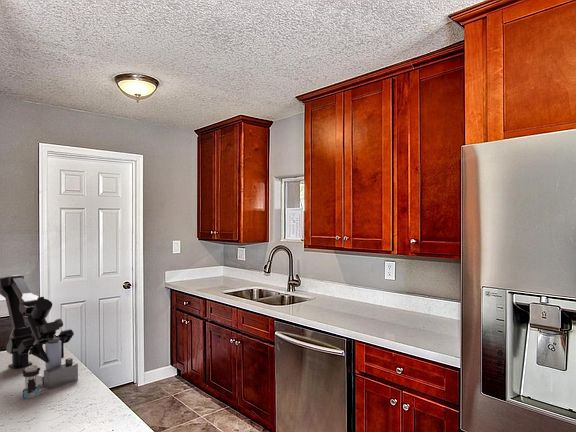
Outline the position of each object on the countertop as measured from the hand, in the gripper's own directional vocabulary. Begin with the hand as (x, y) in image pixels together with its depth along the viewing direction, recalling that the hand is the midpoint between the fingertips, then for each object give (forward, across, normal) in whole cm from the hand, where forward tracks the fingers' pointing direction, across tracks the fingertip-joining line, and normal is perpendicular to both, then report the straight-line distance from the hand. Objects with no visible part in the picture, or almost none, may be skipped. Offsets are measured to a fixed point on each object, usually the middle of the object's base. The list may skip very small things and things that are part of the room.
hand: (55, 360), depth 157 cm
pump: (+4, 0, +6) cm, 7 cm away
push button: (+10, -11, +1) cm, 15 cm away
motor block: (+6, 0, +5) cm, 8 cm away
